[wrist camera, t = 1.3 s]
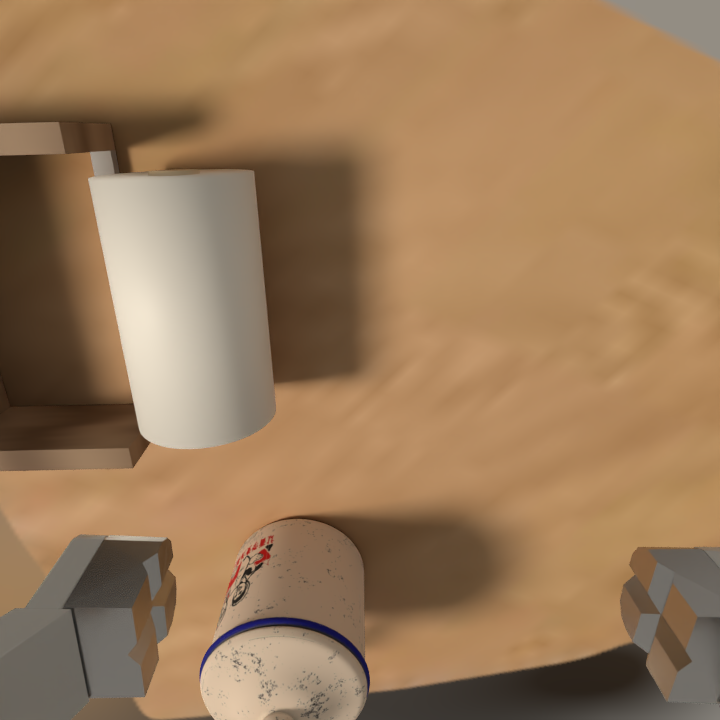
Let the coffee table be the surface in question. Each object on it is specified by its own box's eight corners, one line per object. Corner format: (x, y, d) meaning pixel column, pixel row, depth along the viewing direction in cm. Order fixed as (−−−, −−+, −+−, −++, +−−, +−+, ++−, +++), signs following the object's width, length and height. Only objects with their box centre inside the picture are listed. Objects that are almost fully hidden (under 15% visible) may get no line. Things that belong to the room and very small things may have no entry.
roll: (142, 167, 28) (49, 177, 22) (274, 164, 27) (216, 175, 21) (179, 384, 33) (110, 446, 26) (292, 391, 32) (249, 456, 25)
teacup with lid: (252, 496, 35) (204, 658, 24) (386, 533, 36) (397, 702, 25) (210, 628, 39) (154, 814, 29) (331, 657, 41) (321, 847, 30)
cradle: (110, 123, 27) (45, 121, 21) (164, 421, 33) (125, 479, 27) (-98, 129, 27) (-217, 128, 21) (-5, 425, 33) (-78, 483, 28)
